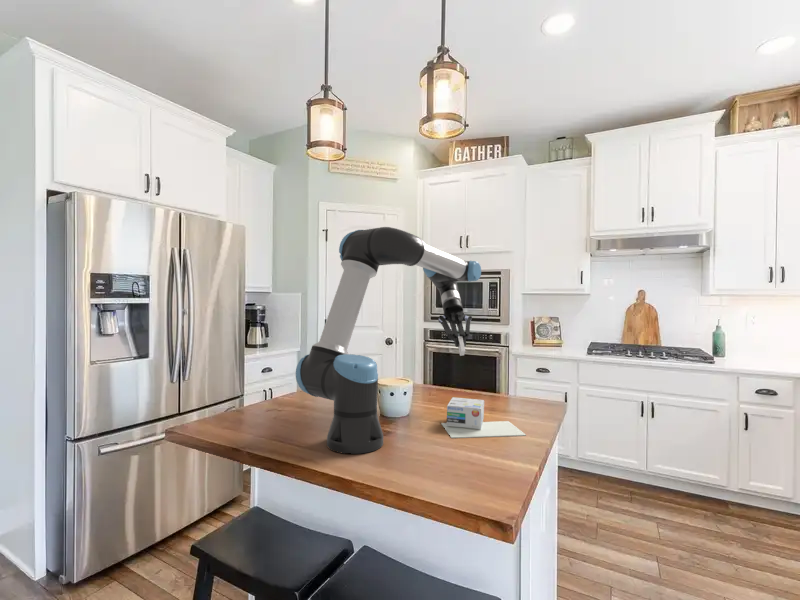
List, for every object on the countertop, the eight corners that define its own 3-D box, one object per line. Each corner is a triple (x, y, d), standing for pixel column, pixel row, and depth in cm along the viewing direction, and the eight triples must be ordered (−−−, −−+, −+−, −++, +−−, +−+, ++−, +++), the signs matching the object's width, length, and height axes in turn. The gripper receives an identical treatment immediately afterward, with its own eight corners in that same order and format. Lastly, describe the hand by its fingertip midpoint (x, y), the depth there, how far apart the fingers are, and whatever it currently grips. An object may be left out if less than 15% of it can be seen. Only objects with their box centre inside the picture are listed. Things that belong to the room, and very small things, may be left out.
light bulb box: (451, 416, 137) (445, 427, 126) (451, 396, 136) (446, 405, 126) (484, 420, 133) (481, 430, 123) (484, 399, 133) (481, 408, 123)
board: (451, 438, 117) (451, 437, 117) (441, 424, 130) (441, 423, 130) (525, 435, 120) (525, 434, 120) (508, 422, 133) (508, 421, 133)
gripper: (466, 311, 166) (478, 359, 149) (434, 310, 164) (442, 359, 148) (470, 298, 160) (483, 346, 144) (437, 297, 159) (446, 346, 142)
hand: (462, 353), depth 146 cm, fingers closed
